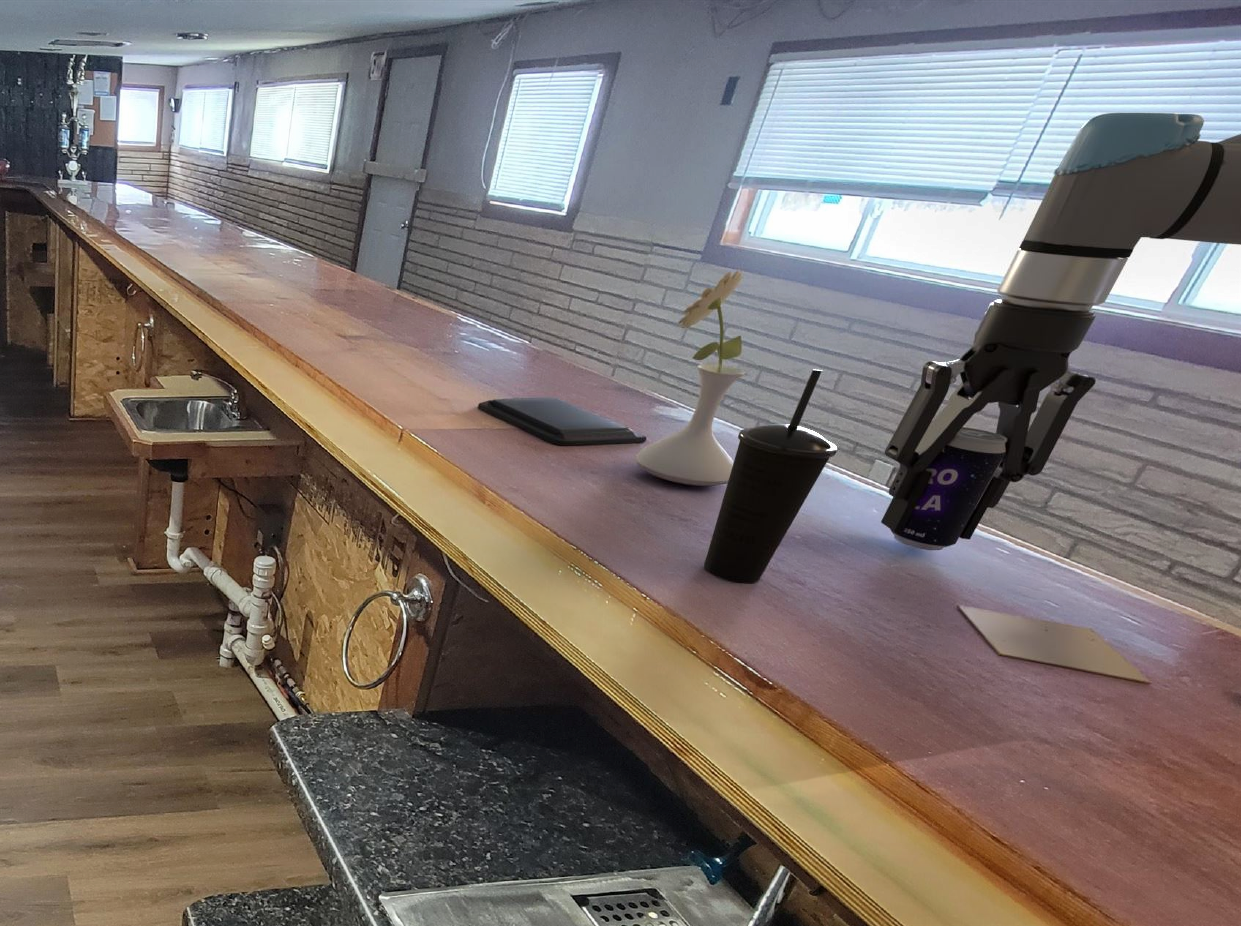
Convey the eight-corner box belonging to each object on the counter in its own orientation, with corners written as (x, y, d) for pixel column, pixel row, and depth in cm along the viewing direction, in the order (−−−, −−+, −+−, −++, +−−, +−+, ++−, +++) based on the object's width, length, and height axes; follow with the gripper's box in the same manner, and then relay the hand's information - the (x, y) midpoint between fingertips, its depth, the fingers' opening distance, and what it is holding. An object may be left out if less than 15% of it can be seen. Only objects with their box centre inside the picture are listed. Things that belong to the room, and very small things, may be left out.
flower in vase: (680, 461, 120) (753, 262, 107) (753, 491, 110) (843, 277, 98) (601, 466, 116) (667, 262, 104) (669, 498, 107) (751, 277, 94)
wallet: (477, 394, 139) (562, 393, 142) (474, 406, 140) (559, 405, 143) (557, 433, 122) (652, 430, 125) (553, 446, 123) (647, 443, 126)
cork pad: (1091, 630, 81) (1092, 628, 81) (1150, 684, 73) (1151, 682, 72) (956, 606, 84) (957, 604, 84) (999, 654, 76) (1000, 653, 76)
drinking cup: (693, 580, 87) (777, 373, 77) (682, 551, 93) (758, 356, 83) (784, 596, 84) (882, 385, 74) (766, 565, 90) (855, 366, 80)
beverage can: (890, 527, 99) (944, 422, 93) (955, 544, 95) (1015, 435, 89) (881, 540, 95) (936, 431, 89) (947, 558, 92) (1010, 446, 86)
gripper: (1129, 303, 85) (1000, 527, 96) (911, 290, 88) (811, 508, 99) (1194, 317, 79) (1048, 555, 90) (957, 302, 81) (845, 534, 93)
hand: (924, 530), depth 95 cm, fingers closed on beverage can, 6 cm apart
